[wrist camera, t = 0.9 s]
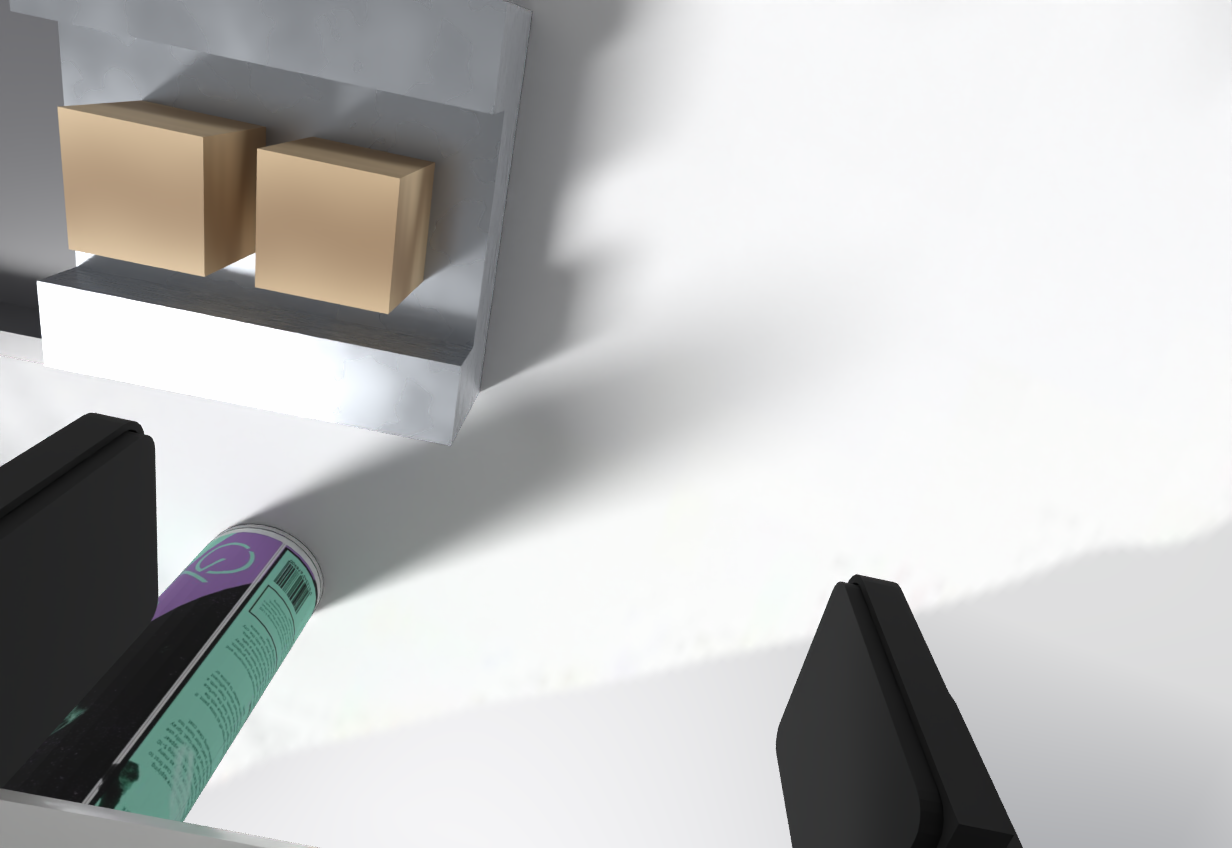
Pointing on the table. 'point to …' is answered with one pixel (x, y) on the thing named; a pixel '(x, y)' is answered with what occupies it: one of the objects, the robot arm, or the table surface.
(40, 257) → the tray
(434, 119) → the slot block
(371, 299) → the light brown cube
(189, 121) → the tan cardboard cube
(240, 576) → the spray can
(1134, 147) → the table surface
